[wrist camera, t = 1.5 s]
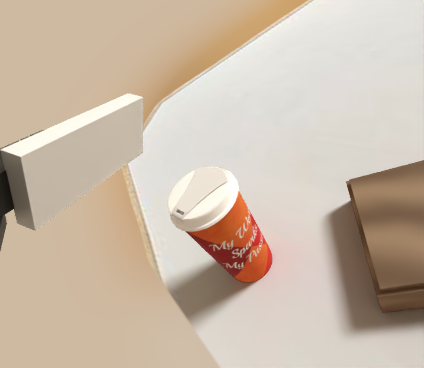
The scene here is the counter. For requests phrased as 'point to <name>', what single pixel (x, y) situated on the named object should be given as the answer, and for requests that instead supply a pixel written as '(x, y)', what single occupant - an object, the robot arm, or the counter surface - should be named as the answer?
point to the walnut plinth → (393, 233)
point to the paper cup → (220, 222)
